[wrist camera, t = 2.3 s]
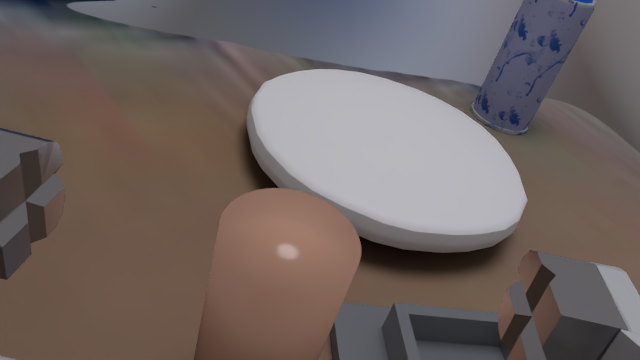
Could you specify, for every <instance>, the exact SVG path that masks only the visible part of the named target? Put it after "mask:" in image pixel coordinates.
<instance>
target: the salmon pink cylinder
mask: <svg viewBox="0 0 640 360" xmlns="http://www.w3.org/2000/svg"><path fill="white" fill-rule="evenodd" d="M360 258H361V243H360V239H359V236H358V234H357V232H356V230H355V228H354V227H353V225H352V224H351V222H350V221H349V220H348V219H347V218H346V217H345V216H344V215H343V214H342V213H341V212H340V211H339V210H338V209H336V208H335V207H334V206H332V205H331V204H329V203H328V202H326V201H324V200H322V199H320V198H318V197H316V196H313V195H311V194H308V193H305V192H301V191H297V190H292V189H284V188H266V189H259V190H255V191H251V192H248V193H246V194H243V195H241V196H239V197H238V198H236V199H235V200H233V201H232V202H231V203H230V204H229V205H228V206H227V207H226V209H225V210H224V212H223V213H222V216H221V218H220V222H219V228H218V233H217V238H216V244H215V249H214V254H213V260H212V265H211V270H210V275H209V281H208V286H207V291H206V297H205V302H204V307H203V313H202V318H201V323H200V329H199V334H198V339H197V344H196V350H195V355H194V360H318V359H319V357H320V354H321V352H322V350H323V347H324V345H325V343H326V340H327V338H328V335H329V333H330V331H331V328H332V326H333V324H334V321H335V319H336V317H337V314H338V312H339V310H340V307H341V305H342V302H343V300H344V298H345V295H346V293H347V291H348V288H349V286H350V284H351V281H352V279H353V277H354V274H355V272H356V269H357V267H358V265H359V262H360Z"/></svg>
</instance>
